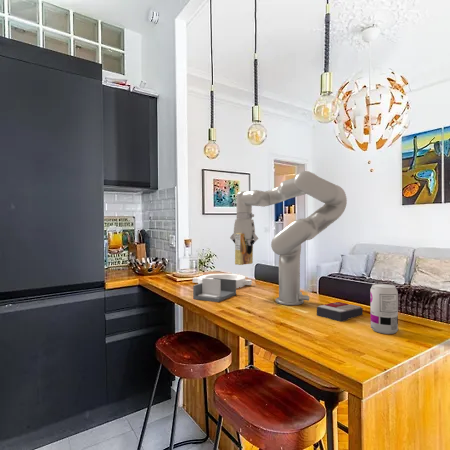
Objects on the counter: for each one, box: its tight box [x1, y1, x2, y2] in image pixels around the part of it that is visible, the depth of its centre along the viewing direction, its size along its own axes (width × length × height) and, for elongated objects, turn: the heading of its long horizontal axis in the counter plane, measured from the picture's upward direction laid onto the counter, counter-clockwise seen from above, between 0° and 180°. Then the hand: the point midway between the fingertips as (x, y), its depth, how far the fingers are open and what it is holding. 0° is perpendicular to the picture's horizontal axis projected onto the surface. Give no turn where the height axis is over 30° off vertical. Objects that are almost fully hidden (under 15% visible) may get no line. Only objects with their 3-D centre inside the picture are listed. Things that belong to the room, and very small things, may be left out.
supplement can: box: [369, 283, 399, 335], centre depth 107 cm, size 8×8×15 cm
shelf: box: [192, 278, 237, 303], centre depth 159 cm, size 14×18×10 cm
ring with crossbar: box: [192, 273, 253, 289], centre depth 191 cm, size 28×28×5 cm
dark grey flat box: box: [316, 301, 364, 323], centre depth 126 cm, size 11×4×15 cm
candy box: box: [234, 233, 254, 266], centre depth 159 cm, size 9×4×15 cm, turn 132°
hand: (243, 252), depth 159 cm, fingers closed on candy box, 5 cm apart
